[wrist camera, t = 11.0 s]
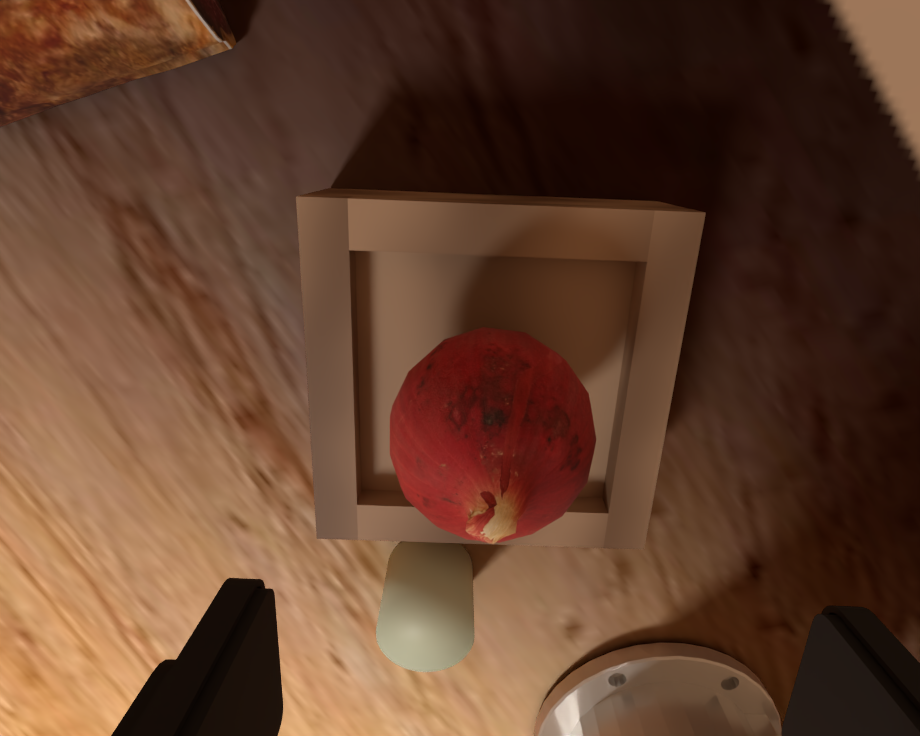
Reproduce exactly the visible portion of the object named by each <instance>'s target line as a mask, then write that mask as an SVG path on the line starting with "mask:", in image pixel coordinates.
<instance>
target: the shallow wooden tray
mask: <svg viewBox="0 0 920 736" xmlns="http://www.w3.org/2000/svg"><path fill="white" fill-rule="evenodd" d="M296 204H297V220H298V237H299V253H300V270H301V286H302V302H303V319H304V335H305V352H306V368H307V384H308V401H309V417H310V433H311V450H312V466H313V483H314V499H315V515H316V532H317V539H346V540H376V541H406V542H435V543H465V544H490V543H486V542H482V541H477V540H467V539H465V538H462V537H460V536H457V535H455V534H453V533H450V532H448V531H445V530H443V529H441V528H438V527H437V526H436V525H434V524H433V523H432V522H431V521H430V520H428V519H427V518H426V517H425V516H424V515H423V514H422V513H421V512H420V511H419V510H418V509H416V508H415V507H414V506H413V505H412V504H411V503H410V502H409V501H408V500H407V499H406V498H405V496H404V494H403V491H402V489H401V486H400V483H399V480H398V477H397V474H396V471H395V469H394V466H393V463H392V460H391V457H390V414H391V409H392V405H393V403H394V401H395V399H396V397H397V395H398V392H399V390H400V388H401V386H402V384H403V382H404V380H405V378H406V376H407V374H408V372H409V371H410V370H411V369H412V368H413V367H414V366H415V365H416V364H417V363H418V362H420V361H421V360H422V359H423V358H424V357H425V356H426V355H427V354H429V353H430V352H431V351H432V350H433V349H434V348H435V347H436V346H437V345H439V344H440V343H441V342H442V341H443V340H444V339H447V338H450V337H454V336H457V335H460V334H463V333H466V332H469V331H472V330H476V329H479V328H482V327H487V328H495V329H503V330H511V331H519V332H526V333H527V334H529V335H530V336H532V337H533V338H535V339H536V340H538V341H539V342H541V343H543V344H544V345H546V346H547V347H549V348H550V349H552V350H553V351H555V352H556V353H558V354H559V355H560V356H561V357H563V358H564V359H565V360H566V361H567V363H568V364H569V365H570V367H571V368H572V370H573V371H574V373H575V374H576V376H577V377H578V379H579V380H580V381H581V383H582V384H583V386H584V387H585V389H586V390H587V392H588V393H589V398H590V403H591V409H592V415H593V421H594V428H595V434H596V445H595V450H594V455H593V459H592V464H591V468H590V473H589V477H588V482H587V484H586V485H585V487H584V488H583V489H582V491H581V492H580V493H579V495H578V496H577V497H576V499H575V500H574V501H573V503H572V504H571V505H570V507H569V508H568V509H567V511H566V512H565V513H564V515H563V516H562V517H560V518H559V519H557V520H555V521H554V522H552V523H550V524H549V525H547V526H545V527H543V528H542V529H540V530H538V531H537V532H535V533H533V534H531V535H527V536H523V537H519V538H515V539H511V540H508V541H504V542H500V543H497V542H496V543H494V544H495V545H525V546H555V547H584V548H614V549H644V547H645V541H646V536H647V530H648V525H649V520H650V514H651V509H652V503H653V498H654V492H655V487H656V481H657V476H658V471H659V465H660V460H661V454H662V449H663V443H664V438H665V432H666V427H667V421H668V416H669V411H670V405H671V400H672V394H673V389H674V383H675V378H676V372H677V367H678V362H679V356H680V351H681V345H682V340H683V334H684V329H685V323H686V318H687V313H688V307H689V302H690V296H691V291H692V285H693V280H694V274H695V269H696V263H697V258H698V253H699V247H700V242H701V236H702V231H703V225H704V220H705V214H706V212H701V211H697V210H693V209H688V208H684V207H680V206H675V205H671V204H667V203H663V202H658V201H641V200H616V199H590V198H565V197H540V196H515V195H489V194H464V193H439V192H413V191H388V190H363V189H338V188H329V189H324V190H320V191H316V192H312V193H308V194H304V195H300V196H296Z"/></svg>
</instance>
